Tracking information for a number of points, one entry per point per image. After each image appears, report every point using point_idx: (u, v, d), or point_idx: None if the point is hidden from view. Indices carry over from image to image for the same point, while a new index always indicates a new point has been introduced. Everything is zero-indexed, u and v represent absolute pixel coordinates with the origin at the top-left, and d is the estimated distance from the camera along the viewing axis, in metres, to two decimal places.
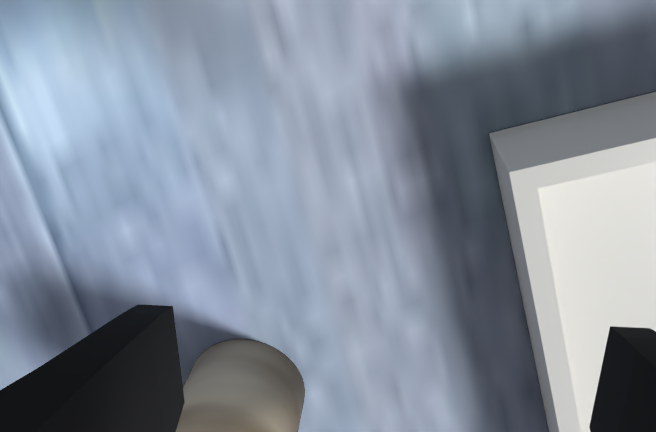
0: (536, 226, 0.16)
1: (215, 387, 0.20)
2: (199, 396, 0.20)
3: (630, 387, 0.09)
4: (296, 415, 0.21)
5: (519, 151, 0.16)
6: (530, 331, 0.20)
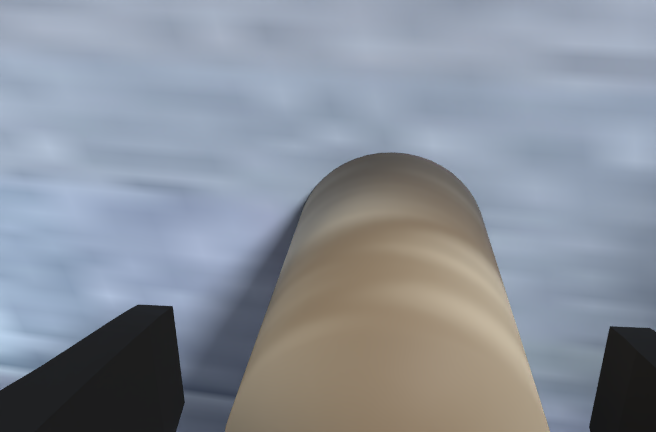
0: None
1: None
2: None
3: (630, 387, 0.09)
4: (401, 181, 0.12)
5: None
6: None
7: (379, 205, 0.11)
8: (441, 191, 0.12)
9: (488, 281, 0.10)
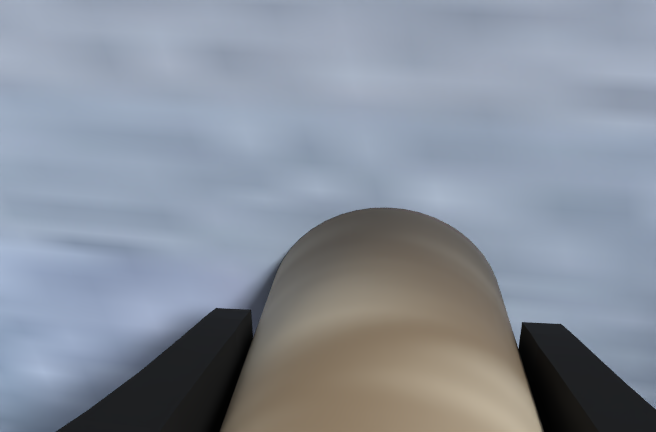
0: None
1: None
2: None
3: (534, 381, 0.09)
4: (398, 254, 0.09)
5: None
6: None
7: (368, 296, 0.08)
8: (450, 266, 0.09)
9: (520, 420, 0.07)
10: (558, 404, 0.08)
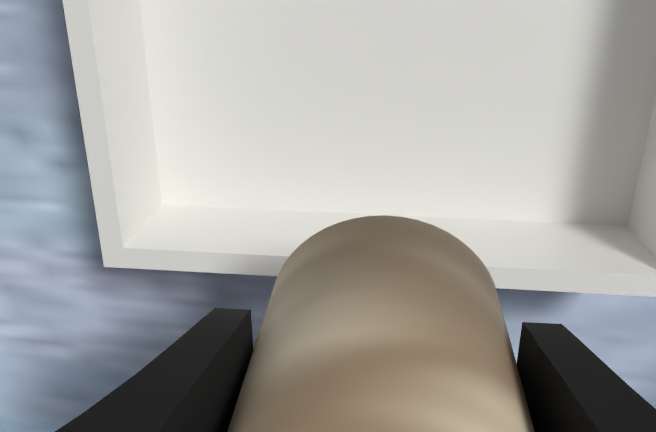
0: (161, 256, 0.16)
1: None
2: None
3: (534, 382, 0.09)
4: (396, 269, 0.09)
5: None
6: None
7: (366, 316, 0.08)
8: (448, 280, 0.09)
9: None
10: (559, 404, 0.08)
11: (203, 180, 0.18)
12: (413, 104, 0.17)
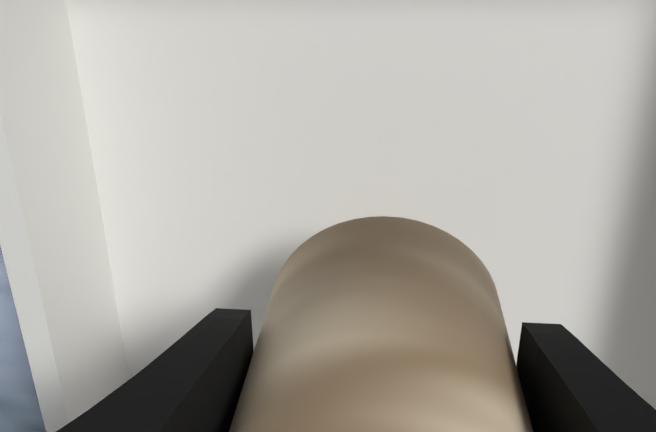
0: None
1: None
2: None
3: (534, 382, 0.09)
4: (397, 272, 0.09)
5: None
6: None
7: (366, 321, 0.08)
8: (449, 283, 0.09)
9: None
10: (558, 404, 0.08)
11: None
12: None
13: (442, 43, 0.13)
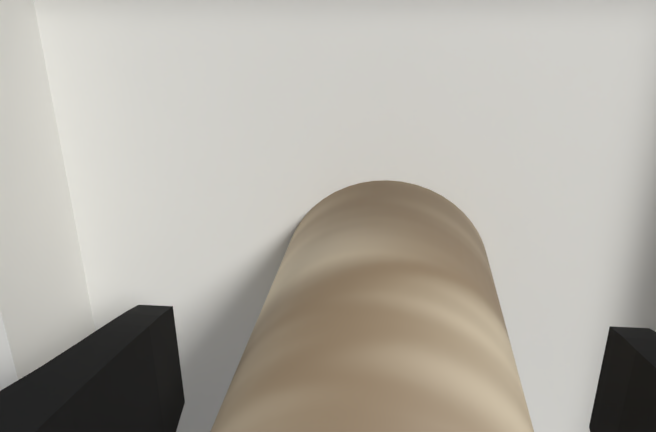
0: None
1: None
2: None
3: (630, 387, 0.09)
4: (395, 214, 0.11)
5: None
6: None
7: (368, 243, 0.10)
8: (440, 226, 0.11)
9: (489, 336, 0.08)
10: None
11: None
12: None
13: (445, 51, 0.11)
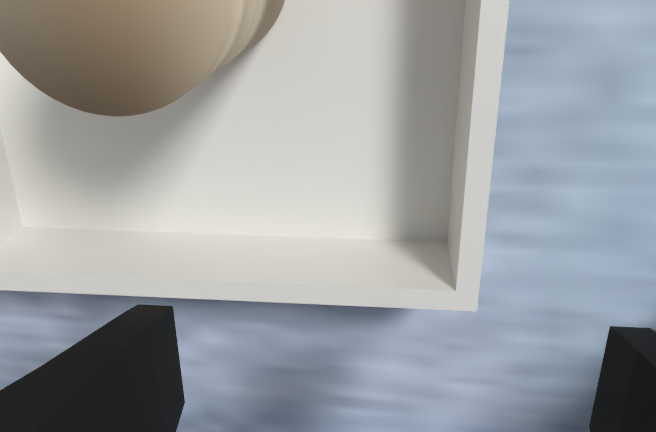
0: (0, 277, 0.17)
1: None
2: None
3: (630, 387, 0.09)
4: None
5: None
6: None
7: None
8: None
9: None
10: None
11: (57, 204, 0.20)
12: (238, 132, 0.18)
13: None
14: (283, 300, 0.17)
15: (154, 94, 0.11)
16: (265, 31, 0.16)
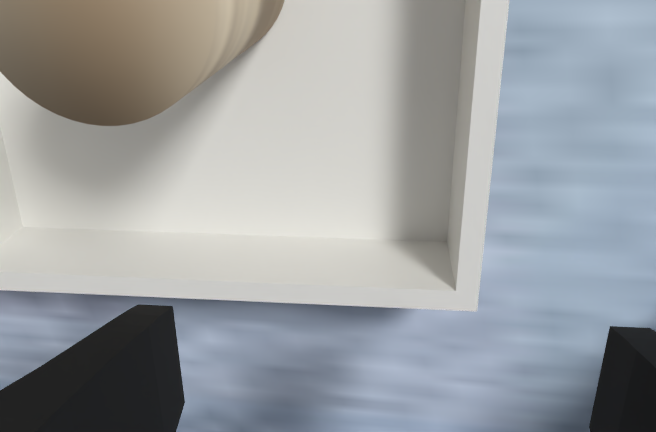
0: (0, 277, 0.17)
1: None
2: None
3: (630, 387, 0.09)
4: None
5: None
6: None
7: None
8: None
9: None
10: None
11: (57, 204, 0.20)
12: (238, 132, 0.18)
13: None
14: (283, 300, 0.17)
15: (140, 105, 0.11)
16: (262, 34, 0.16)
